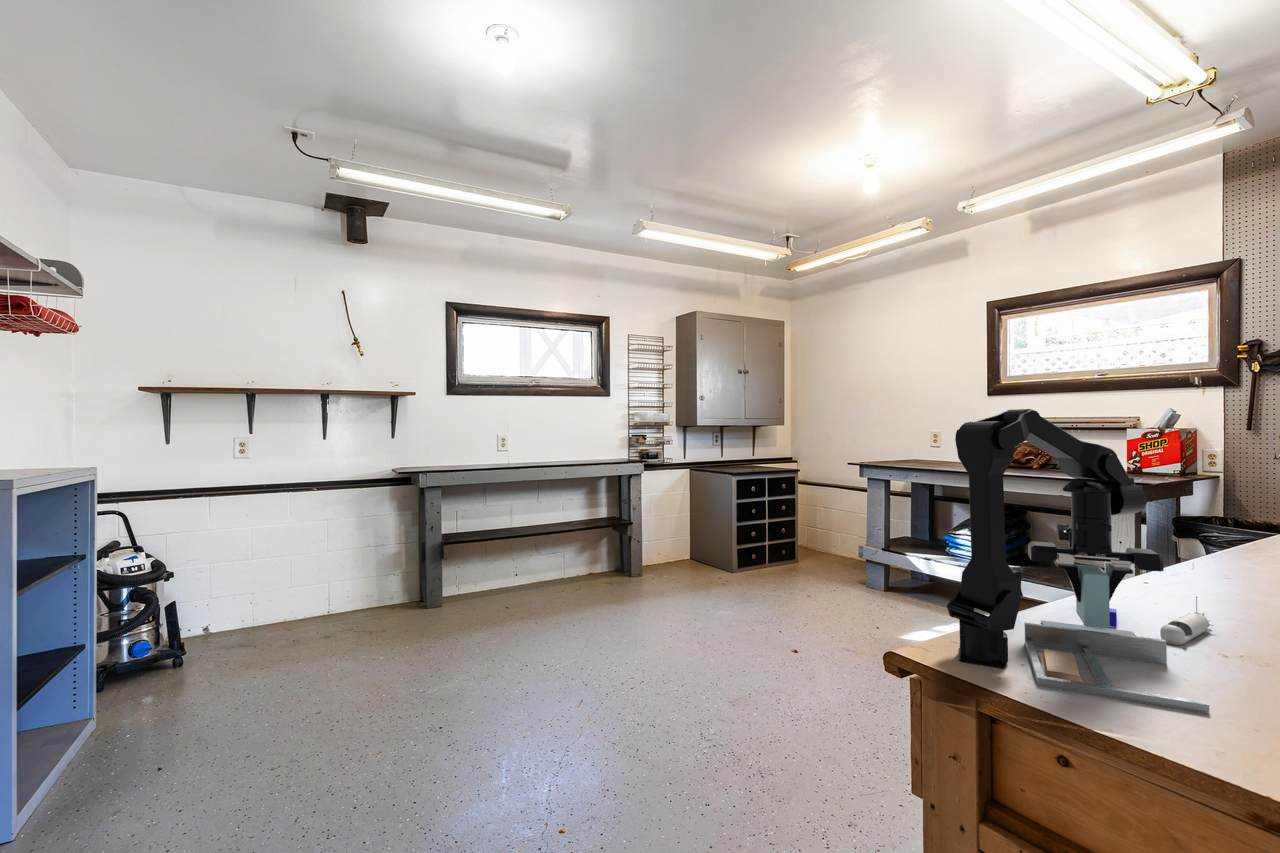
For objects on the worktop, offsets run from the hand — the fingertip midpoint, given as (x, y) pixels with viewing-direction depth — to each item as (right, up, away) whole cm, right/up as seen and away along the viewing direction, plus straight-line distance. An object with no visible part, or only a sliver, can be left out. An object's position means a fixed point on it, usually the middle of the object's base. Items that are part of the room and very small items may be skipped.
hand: (1092, 603), depth 105 cm
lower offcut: (-15, -8, -12) cm, 21 cm away
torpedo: (+19, -7, +2) cm, 20 cm away
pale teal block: (0, -3, 0) cm, 3 cm away
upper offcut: (-15, -7, -13) cm, 21 cm away
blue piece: (+12, -7, +13) cm, 19 cm away
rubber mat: (0, -7, 0) cm, 7 cm away
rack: (-10, -7, -15) cm, 19 cm away
